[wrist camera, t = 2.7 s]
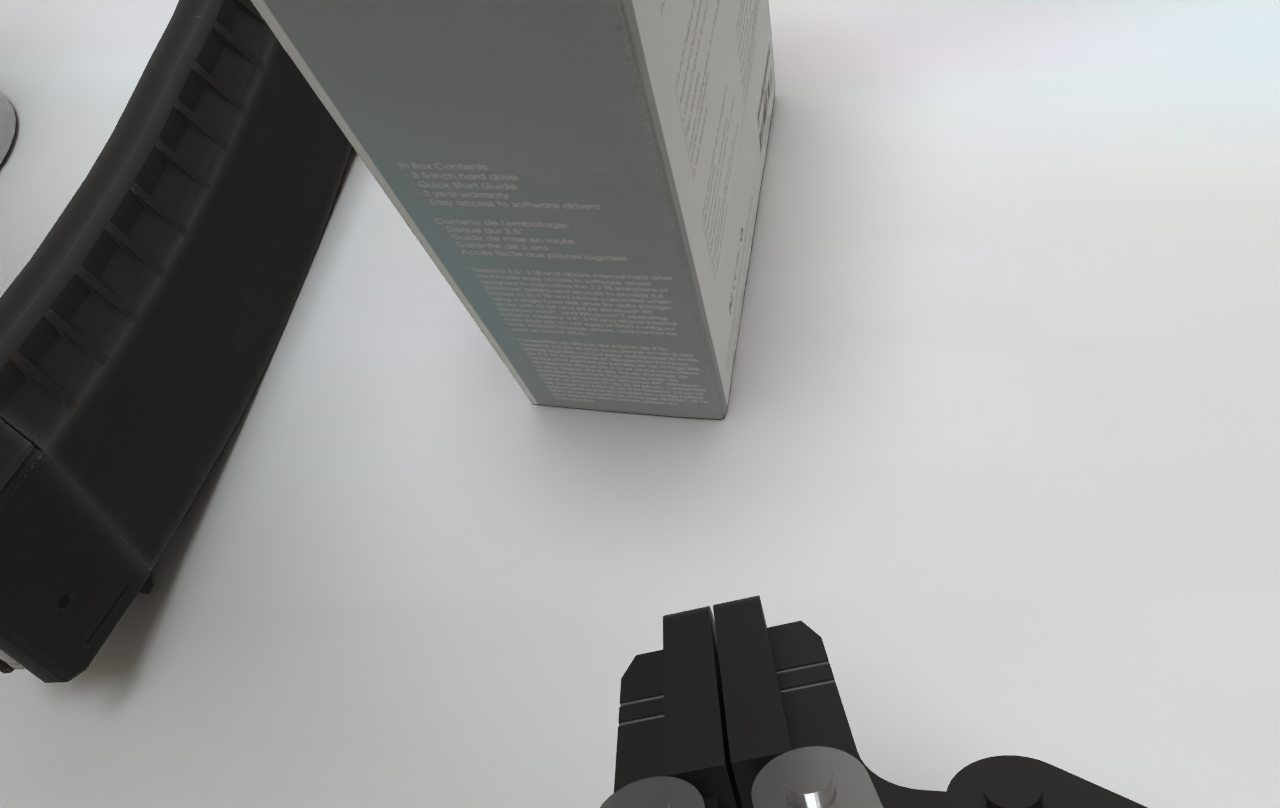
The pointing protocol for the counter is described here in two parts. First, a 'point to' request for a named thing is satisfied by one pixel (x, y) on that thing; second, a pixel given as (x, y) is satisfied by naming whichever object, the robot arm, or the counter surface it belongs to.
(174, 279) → the magazine
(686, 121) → the hard drive box
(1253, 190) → the counter surface
